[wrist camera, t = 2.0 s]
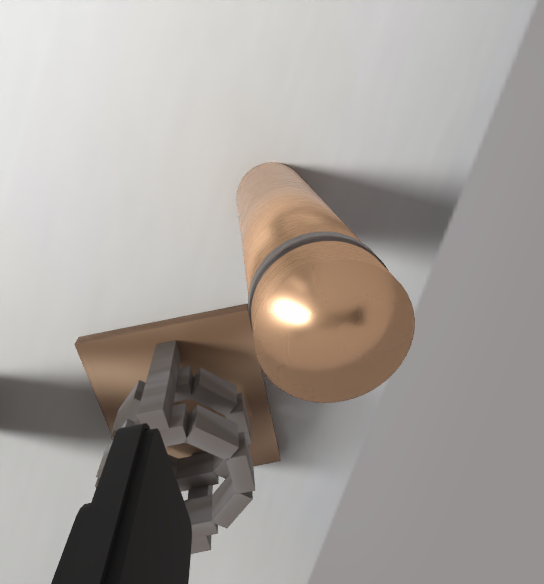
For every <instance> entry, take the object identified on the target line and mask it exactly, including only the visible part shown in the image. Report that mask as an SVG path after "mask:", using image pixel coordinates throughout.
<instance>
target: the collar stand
mask: <svg viewBox="0 0 544 584" xmlns="http://www.w3.org/2000/svg"><path fill="white" fill-rule="evenodd" d="M75 347H76V349H77V352H78V354H79V356H80V359H81V361H82V364H83V366H84V368H85V371H86V373H87V376H88V378H89V381H90V383H91V385H92V388H93V390H94V393H95V395H96V397H97V400H98V402H99V405H100V407H101V409H102V412H103V414H104V417H105V419H106V421H107V424H108V426H109V429H110V431H111V434H112V437H111V439H112V442H113V439H114V436H115V433H116V431H117V430H118V429H119V428H123V427H128V426H133V425H138V424H143V423H147V424H148V425H149V427H150V429H155V428H157V429H158V430H159V431H160V434H161V437H162V439H163V442H164V445H165V448H166V451H167V454H168V457H169V460H170V462H171V465H172V468H173V471H174V474H175V477H176V480H177V483H178V485H179V488H180V491H186V490H189V491H188V500H186V501H184V503H185V506H186V509H187V511H188V514H189V517H190V521H191V526H192V545H191V554H193V553H198V552H203V551H208V550H211V535H213V534H218V525H220V526H222V527H225V528H228V527H229V526H230V524H231V523H232V522H233V521H234V520H235V519H236V518H237V516H238V515H239V514H240V513H241V512H242V511H243V510H244V508H245V507H246V506H247V505H248V504H249V503H250V502H251V500H252V499H253V496H252V491H255V482H254V470H253V466H258V465H263V464H268V463H273V462H277V461H280V455H279V449H278V445H277V440H276V435H275V431H274V426H273V422H272V417H271V412H270V408H269V403H268V399H267V394H266V389H265V385H264V380H263V376H262V371H261V366H260V364H259V361H258V358H257V355H256V351H255V344H254V336H253V331H252V328H251V324H250V317H249V311H248V306H247V304H244V305H239V306H234V307H229V308H224V309H219V310H214V311H209V312H204V313H199V314H193V315H188V316H183V317H178V318H173V319H168V320H163V321H158V322H153V323H148V324H143V325H138V326H133V327H128V328H123V329H118V330H113V331H108V332H103V333H98V334H93V335H88V336H83V337H79V338H78V340H77V341H76V343H75ZM112 442H111V443H110V444H109V446H108V447H107V449H106V450H105V452H104V455H103V458H102V461H101V464H100V467H99V470H98V473H97V476H96V477H98V479H97V482H96V485H95V487H96V488H97V485H98V482H99V479H100V476H101V473H102V471H103V468H104V465H105V462H106V459H107V456H108V453H109V450H110V447H111V445H112ZM218 476H221V477H223V478H225V481H224V482H223V483H222V484H221V485H220V487H219V488H218V489H217V490H216V491H215V493H214V494H213V495H212V490H213V485H215V484H218Z"/></svg>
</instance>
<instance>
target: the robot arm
mask: <svg viewBox="0 0 544 584" xmlns="http://www.w3.org/2000/svg"><path fill="white" fill-rule="evenodd" d="M191 545H192V526H191V521H190V517H189V514H188V511H187V509H186V506H185V503H184V500H183V497H182V494H181V491H180V488H179V485H178V483H177V480H176V477H175V474H174V471H173V468H172V465H171V462H170V460H169V457H168V454H167V451H166V448H165V445H164V442H163V439H162V437H161V434H160V431H159V430H158V429H157V428H155V429H150V427H149V425H148V424H147V423H143V424H138V425H133V426H128V427H123V428H119V429H118V430H117V431H116V433H115V436H114V439H113V442H112V445H111V447H110V450H109V453H108V456H107V459H106V462H105V465H104V468H103V471H102V473H101V476H100V479H99V482H98V485H97V488H96V491H95V494H94V497H93V499H92V502H91V503H88V504H84V505H83V506H82V507H81V508H80V510H79V512H78V514H77V516H76V518H75V521H74V524H73V526H72V529H71V532H70V534H69V537H68V540H67V543H66V545H65V548H64V551H63V553H62V556H61V559H60V561H59V564H58V567H57V570H56V572H55V575H54V578H53V580H52V583H51V584H188V580H189V568H190V556H191Z"/></svg>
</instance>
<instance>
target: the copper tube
mask: <svg viewBox="0 0 544 584" xmlns="http://www.w3.org/2000/svg"><path fill="white" fill-rule="evenodd" d="M237 206H238V214H239V222H240V230H241V238H242V247H243V255H244V263H245V271H246V279H247V287H248V308H249V317H250V324H251V328H252V331H253V336H254V344H255V351H256V355H257V358H258V361H259V364H260V366H261V368H262V370H263V371H264V373H265V374H266V376H267V377H268V378H269V379H270V380H271V381H272V382H273V383H274V384H275V385H276V386H277V387H278V388H280V389H281V390H283V391H284V392H286V393H288V394H290V395H292V396H294V397H296V398H300V399H303V400H306V401H312V402H322V403H329V402H339V401H345V400H349V399H353V398H356V397H358V396H361V395H363V394H365V393H367V392H369V391H372V390H373V389H375V388H376V387H378V386H379V385H381V384H382V383H383V382H385V381H386V380H387V379H388V378H389V377H390V376H391V375H392V374H393V373H394V372H395V371H396V370H397V369H398V367H399V366H400V365H401V363H402V361H403V360H404V358H405V357H406V355H407V353H408V351H409V349H410V346H411V343H412V340H413V335H414V326H415V318H414V311H413V307H412V303H411V301H410V299H409V296H408V294H407V293H406V291H405V289H404V288H403V286H402V285H401V284H400V283H399V282H398V281H397V280H396V279H395V278H394V276H393V275H392V274H391V273H390V272H389V271H388V269H387V268H386V266H385V265H384V263H383V262H382V261H381V260H380V259H379V258H378V257H377V256H376V255H375V254H374V253H373V252H372V250H371V249H369V248H368V247H367V246H366V245H365V244H363V243H362V242H361V241H360V240H359V239H358V238H357V237H356V236H355V235H354V234H353V233H352V231H351V230H350V229H349V228H348V227H347V226H346V225H345V224H344V223H343V222H342V221H341V220H340V219H339V218H338V216H337V215H336V214H335V213H334V212H333V211H332V210H331V209H330V208H329V207H328V206H327V205H326V204H325V203H324V201H323V200H322V199H321V198H320V197H319V196H318V195H317V194H316V193H315V192H314V191H313V190H312V189H311V188H310V186H309V185H308V184H307V183H306V182H305V181H304V180H303V179H302V178H301V177H300V176H299V175H298V174H297V173H296V172H295V171H294V170H293V169H292V168H290V167H288V166H286V165H284V164H280V163H264V164H261V165H258V166H256V167H254V168H253V169H251V170H250V171H249V172H248V173H247V174H246V175H245V176H244V177H243V179H242V181H241V182H240V185H239V187H238V191H237Z"/></svg>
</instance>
